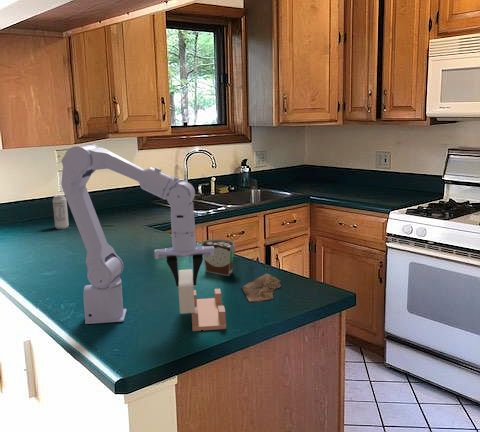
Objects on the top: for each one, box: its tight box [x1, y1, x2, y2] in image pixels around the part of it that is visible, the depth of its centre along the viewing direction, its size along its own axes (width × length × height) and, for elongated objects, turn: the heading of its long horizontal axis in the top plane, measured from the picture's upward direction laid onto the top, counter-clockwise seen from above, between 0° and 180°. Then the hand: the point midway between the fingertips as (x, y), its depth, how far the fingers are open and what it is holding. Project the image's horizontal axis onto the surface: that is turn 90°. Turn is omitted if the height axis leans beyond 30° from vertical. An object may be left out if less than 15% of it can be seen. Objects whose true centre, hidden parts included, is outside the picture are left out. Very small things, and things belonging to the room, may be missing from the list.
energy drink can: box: [52, 194, 70, 230], centre depth 244 cm, size 6×6×15 cm
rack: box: [191, 288, 227, 332], centre depth 135 cm, size 8×19×4 cm, turn 6°
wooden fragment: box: [240, 273, 282, 303], centre depth 156 cm, size 26×11×1 cm, turn 164°
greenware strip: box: [178, 268, 195, 315], centre depth 132 cm, size 4×16×6 cm, turn 6°
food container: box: [200, 238, 236, 277], centre depth 172 cm, size 12×6×10 cm, turn 56°
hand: (186, 284), depth 132 cm, fingers closed on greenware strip, 3 cm apart
